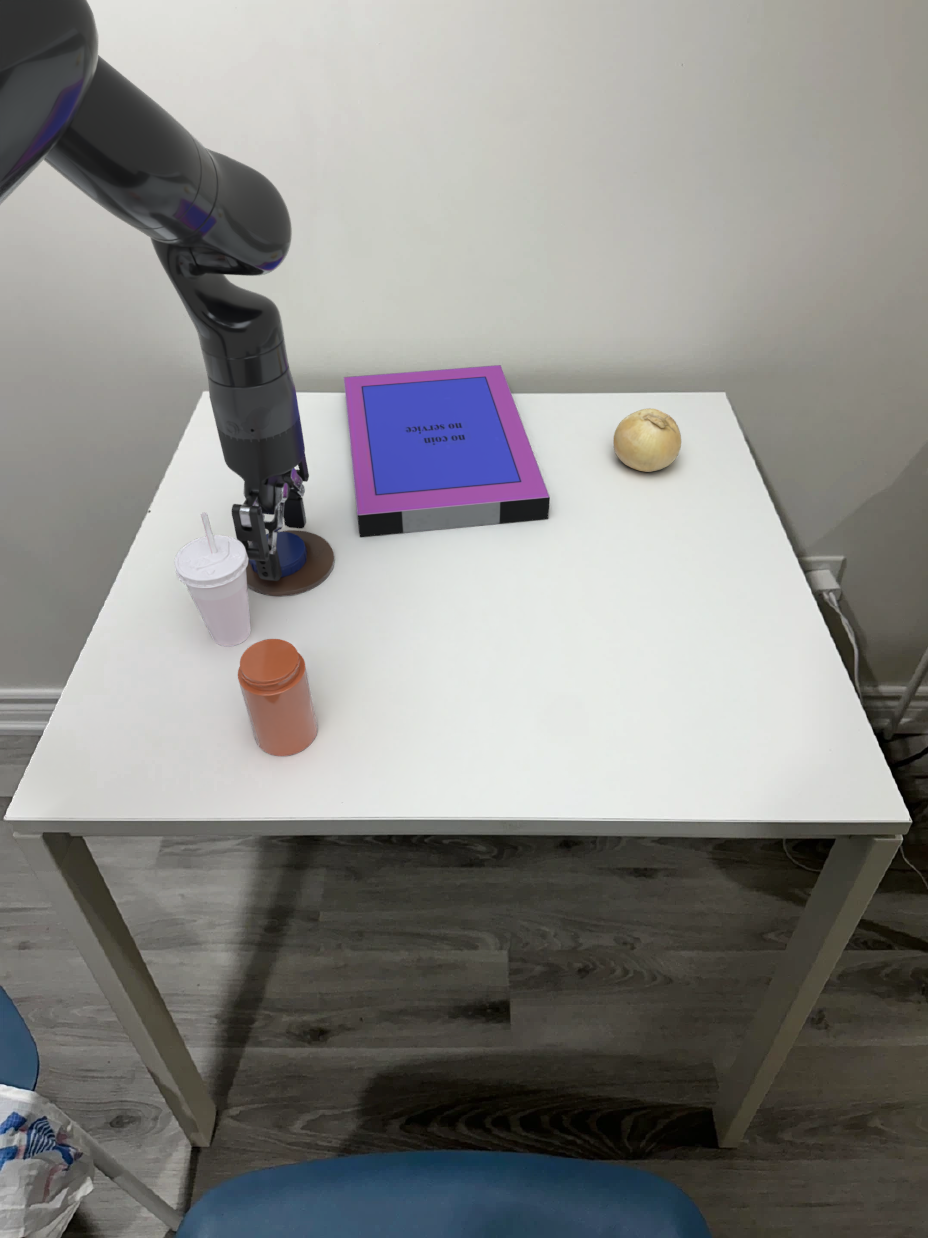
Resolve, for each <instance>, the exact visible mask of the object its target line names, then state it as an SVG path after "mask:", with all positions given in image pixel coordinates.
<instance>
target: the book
mask: <svg viewBox="0 0 928 1238" xmlns="http://www.w3.org/2000/svg"><path fill="white" fill-rule="evenodd" d="M343 384H344V394H345V395H344V396H345V403H346V404H345V405H346V414H347V415H346V416H347V426H348V434H349V435H348V436H349V446H350V453H351V455H350V457H351V466H352V475H353V484H354V485H353V486H354V496H355V505H356V516H357V524H358V531H359V532H358V533H359V538H366V537H367V538H368V537H378V536H387V535H388V536H389V535H400V534H408V533H419V532H429V531H430V532H431V531H439V530H450V529H451V530H452V529H461V528H471V527H480V526H482V527H483V526H491V525H492V526H493V525H502V524H512V523H522V522H533V521H543V520H548V519H549V512H550V499H551V496H550V494H549V491H548V488H547V485H546V483H545V480H544V478H543V475H542V472H541V470H540V466H539V465H538V460H537V459H536V457H535V453H534V450H533V448H532V445H531V443H530V440H529V437H528V435H527V431H526V429H525V427H524V423H523V421H522V418H521V416H520V413H519V411H518V407H517V406H516V402H515V400H514V399H515V398H514V397H513V394H512V391H511V389H510V387H509V386H510V385H509V383H508V380H507V378H506V374H505V372H504V370H503V368H502V365H501V364H494V365H482V366H481V365H480V366H469V367H468V366H467V367H457V368H456V367H454V368H443V369H429V370H417V371H405V372H391V373H379V374H367V375H352V376H343Z"/></svg>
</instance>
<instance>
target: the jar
mask: <svg viewBox="0 0 928 1238" xmlns="http://www.w3.org/2000/svg"><path fill="white" fill-rule="evenodd" d="M237 680H238V684H239V687H240V691H241V694H242V698H243V701H244V705H245V708H246V712H247V716H248V718H249V722H250V725H251V729H252V732H253V736H254V739H255V743H256V744H257V746H258V747H259V749H261V751H263V752H264V753H266V754H269V755H271V756H275V757H288V756H293V755H296V754H299V753H301V752H302V751H305V750H306V749H307V748H308V747H309V746H311V744H312V743H313V742H314V740H315V739H316V736H317V734H318V728H319V726H318V721H317V715H316V710H315V706H314V701H313V695H312V690H311V685H310V681H309V675H308V671H307V666H306V661H305V659H304V657H303V655H302V654H301V653H300V652H298V649H297V648H296V646H294V644H292V643H291V642H290V641H287V640H284V639H280V638H267V639H263V640H259V641H256V642H255V643H253V644H251V645H250V646H248V647H247V648H246V649H245V650H244V652H243V653H242V654H241V657H240V660H239V667H238V669H237Z"/></svg>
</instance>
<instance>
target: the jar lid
mask: <svg viewBox="0 0 928 1238" xmlns="http://www.w3.org/2000/svg"><path fill="white" fill-rule="evenodd" d="M266 536H267V541H268V533H266ZM276 547H277V552H278V557H279V562H280V566H281V571H282V575H281V577H285V576H288V575H291V574H293V573H295V572H297V571H298V570H300V569H301V568H302V567H303V565H304V564H305V562H306V561H307V560H306V558H307V555H306V554H307V550H306V547H305V544H304V541H303V540H302V539H301V538H300V537H299V536H297V535H296V534H293V533H290V532H280V531H278V532H277V546H276ZM249 563H250V564H251V567H252V569H253V571H255V572H256V573H257V574H258V571H257V566H256V562H255V560H249Z"/></svg>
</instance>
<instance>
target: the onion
mask: <svg viewBox="0 0 928 1238" xmlns="http://www.w3.org/2000/svg"><path fill="white" fill-rule="evenodd" d="M681 434H682V433H681V430H680V428H679V426H678V423H677V422H676V420H675V419H674V418H673V417H672V416H671V415H669V414H667V413H666V412H664V411H662V410H659V409H657V408H651V407H649V408H643V409H640V410H636V411H634V412H632V413H630V414H628V415H626V416H625V417H624V418H623V419H622V420H621V421H619V423H618V424H617V426H616V428H615V430H614V434H613V440H612V441H613V451H614V453H615V455H616V456H617V458H618V459H619V461H621V462H622V463H623V464H624V465H625V466H626V467H629V468H631V469H633V470H636V471H639V472H646V473H650V472H651V473H652V472H656V471H660V470H662V469H664V468H667V467H669V466H670V465H671V464H672V463H673V462H674V461H675V460H676V458H677V457H678V456H679V454H680V451H681V447H682V435H681Z"/></svg>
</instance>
